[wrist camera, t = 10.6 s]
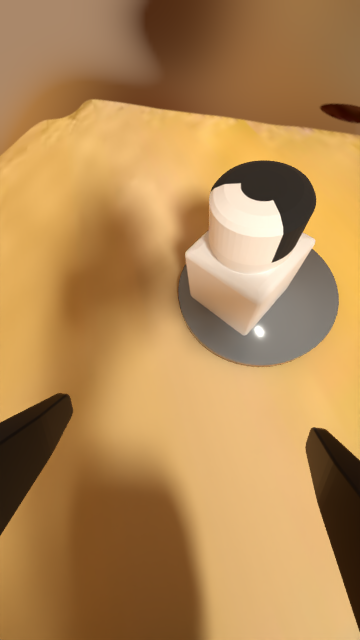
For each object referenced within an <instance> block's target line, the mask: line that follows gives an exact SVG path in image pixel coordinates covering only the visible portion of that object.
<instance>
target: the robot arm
mask: <svg viewBox="0 0 360 640" xmlns="http://www.w3.org/2000/svg"><path fill="white" fill-rule="evenodd" d="M72 413H73V408H72V404H71V399H70V396H69V395H68V394H62V393H58V394H56V395H54V396H52V397H50V398H48V399H46V400H44V401H42V402H40V403H38V404H36V405H34V406H32V407H30V408H28V409H26V410H24V411H22V412H20V413H18V414H16V415H14V416H12V417H10V418H8V419H6V420H5V421H3V422H1V423H0V535H1V534H2V532H3V531H4V529H5V527H6V526H7V524H8V523H9V521H10V520H11V518H12V516H13V515H14V513H15V512H16V510H17V508H18V507H19V505H20V504H21V502H22V501H23V499H24V497H25V496H26V494H27V493H28V491H29V490H30V488H31V486H32V485H33V483H34V482H35V480H36V479H37V477H38V475H39V474H40V472H41V471H42V469H43V468H44V466H45V464H46V463H47V461H48V460H49V458H50V456H51V455H52V453H53V451H54V449H55V447H56V446H57V444H58V442H59V440H60V438H61V436H62V434H63V432H64V430H65V428H66V426H67V424H68V422H69V420H70V419H71V416H72ZM306 454H307V458H308V463H309V467H310V472H311V476H312V481H313V485H314V490H315V494H316V498H317V502H318V506H319V509H320V512H321V515H322V518H323V521H324V524H325V527H326V530H327V534H328V537H329V540H330V543H331V546H332V549H333V552H334V555H335V558H336V561H337V564H338V567H339V570H340V573H341V576H342V579H343V583H344V586H345V589H346V592H347V595H348V598H349V601H350V604H351V607H352V610H353V613H354V616H355V619H356V622H357V625H358V628H359V631H360V460H359V459H358V458H357V457H355V456H354V455H353V454H352V453H351V452H350V451H349V450H348V449H347V448H346V447H345V446H343V445H342V444H341V443H340V442H339V441H338V440H337V439H336V438H335V437H334V436H333V435H332V434H330V433H329V432H328V431H327V430H326V429H322V428H315V427H313V428H311V430H310V432H309V436H308V439H307V442H306Z"/></svg>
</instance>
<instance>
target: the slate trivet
mask: <svg viewBox="0 0 360 640" xmlns="http://www.w3.org/2000/svg"><path fill="white" fill-rule="evenodd" d="M178 292H179V302H180V308H181V312H182V315H183V318H184V321H185V323H186V325H187V327H188V329H189V330H190V332H191V333H192V334H193V336H194V337H195V338H196V339H197V340H198V342H199V343H200V344H201V345H203V346H204V347H205V348H206V349H207V350H209V351H210V352H212V353H213V354H215V355H216V356H218V357H220V358H222V359H225V360H227V361H230V362H233V363H236V364H240V365H244V366H252V367H270V366H276V365H281V364H284V363H287V362H290V361H293V360H295V359H297V358H299V357H301V356H302V355H304V354H305V353H307V352H309V351H310V350H311V349H313V348H314V347H316V346H317V345H318V344H319V343H320V342H321V341H322V340H323V339H324V338H325V337H326V335H327V334H328V333H329V331H330V330H331V328H332V326H333V324H334V322H335V319H336V316H337V311H338V305H339V298H338V289H337V285H336V282H335V279H334V276H333V274H332V272H331V270H330V268H329V267H328V266H327V264H326V263H325V261H324V260H323V259H322V258H321V257H320V256H319V255H318V253H316V252H315V251H314V250H313V249H311V251H310V252H309V254H308V255H307V257H306V259H305V260H304V262H303V263H302V265H301V267H300V268H299V270H298V271H297V273H296V274H295V276H294V278H293V279H292V281H291V282H290V284H289V286H288V287H287V289H286V290H285V291H284V292H283V293H282V295H281V296H280V297H279V298H278V299H277V300H276V302H275V303H274V304H273V305H272V306H271V307H270V309H269V310H268V311H267V312H266V313H265V314H264V316H263V317H262V318H261V319H260V320H259V321H258V322H257V324H256V325H255V326H254V327H253V328H252V329H251V331H250V332H249V333H248V334H247V335H244V336H243V335H241V334H240V333H239V332H238V331H236V330H235V329H234V328H232V327H231V326H230V325H228V324H227V323H226V322H224V321H223V320H222V319H220V318H219V317H218V316H216V315H215V314H214V313H212V312H211V311H210V310H209V309H207V308H206V307H205V306H203V305H202V304H201V303H199V302H198V301H197V300H195V299H194V298H193V297H192V296H191V294H190V287H189V280H188V273H187V265H186V264H185V266H184V269H183V271H182V273H181V277H180V281H179V288H178Z"/></svg>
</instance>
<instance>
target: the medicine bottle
mask: <svg viewBox="0 0 360 640" xmlns="http://www.w3.org/2000/svg"><path fill="white" fill-rule="evenodd" d="M315 206H316V195H315V191H314V189H313V186H312V184H311V183H310V181H309V179H308V178H307V177H306V176H305V175H304V174H303V173H302V172H300V171H299V170H297V169H296V168H294V167H292V166H290V165H287V164H284V163H280V162H275V161H252V162H247V163H244V164H240V165H238V166H236V167H234V168H232V169H230V170H229V171H227V172H226V173H225V174H223V175H222V176H221V177H220V178H219V179H218V180H217V182H216V183H215V184H214V186H213V187H212V190H211V192H210V196H209V230H208V231H207V232H206V233H205V234H204V235H203V236H202V237H200V238H199V239H198V240H197V241H196V242H195V243H194V244H193V245H192V246H191V247H190V248H189V249H188V250H187V251H186V252H185V258H186V265H187V273H188V280H189V287H190V294H191V296H192V297H193V298H194V299H195V300H197V301H198V302H199V303H201V304H202V305H203V306H205V307H206V308H207V309H209V310H210V311H211V312H212V313H214V314H215V315H216V316H218V317H219V318H220V319H222V320H223V321H224V322H226V323H227V324H228V325H230V326H231V327H232V328H234V329H235V330H236V331H238V332H239V333H240V334H241V335H243V336H244V335H247V334H248V333H249V332H250V331H251V329H252V328H253V327H254V326H255V325H256V324H257V322H258V321H259V320H260V319H261V318H262V317H263V316H264V314H265V313H266V312H267V311H268V310H269V309H270V307H271V306H272V305H273V304H274V303H275V302H276V300H277V299H278V298H279V297H280V296H281V295H282V293H283V292H284V291H285V290H286V289H287V287H288V286H289V284H290V282H291V281H292V279H293V278H294V276H295V274H296V273H297V271H298V270H299V268H300V267H301V265H302V263H303V262H304V260H305V259H306V257H307V255H308V254H309V252H310V251H311V249H312V247H313V246H314V244H315V239H314V238H312V237H310V236H308V235H306V234H304V233H303V231H304V229H305V227H306V225H307V223H308V221H309V219H310V217H311V215H312V213H313V211H314V209H315Z"/></svg>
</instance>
